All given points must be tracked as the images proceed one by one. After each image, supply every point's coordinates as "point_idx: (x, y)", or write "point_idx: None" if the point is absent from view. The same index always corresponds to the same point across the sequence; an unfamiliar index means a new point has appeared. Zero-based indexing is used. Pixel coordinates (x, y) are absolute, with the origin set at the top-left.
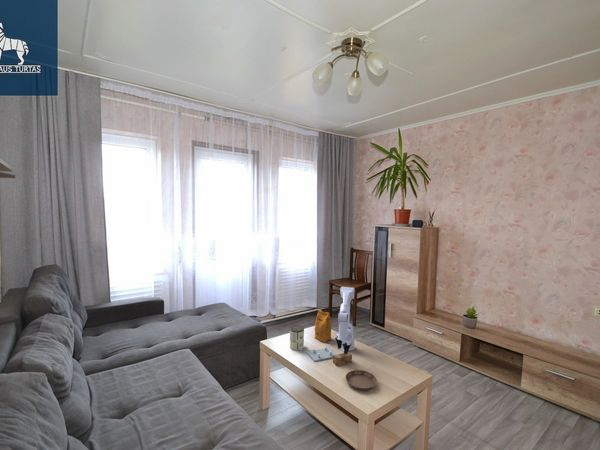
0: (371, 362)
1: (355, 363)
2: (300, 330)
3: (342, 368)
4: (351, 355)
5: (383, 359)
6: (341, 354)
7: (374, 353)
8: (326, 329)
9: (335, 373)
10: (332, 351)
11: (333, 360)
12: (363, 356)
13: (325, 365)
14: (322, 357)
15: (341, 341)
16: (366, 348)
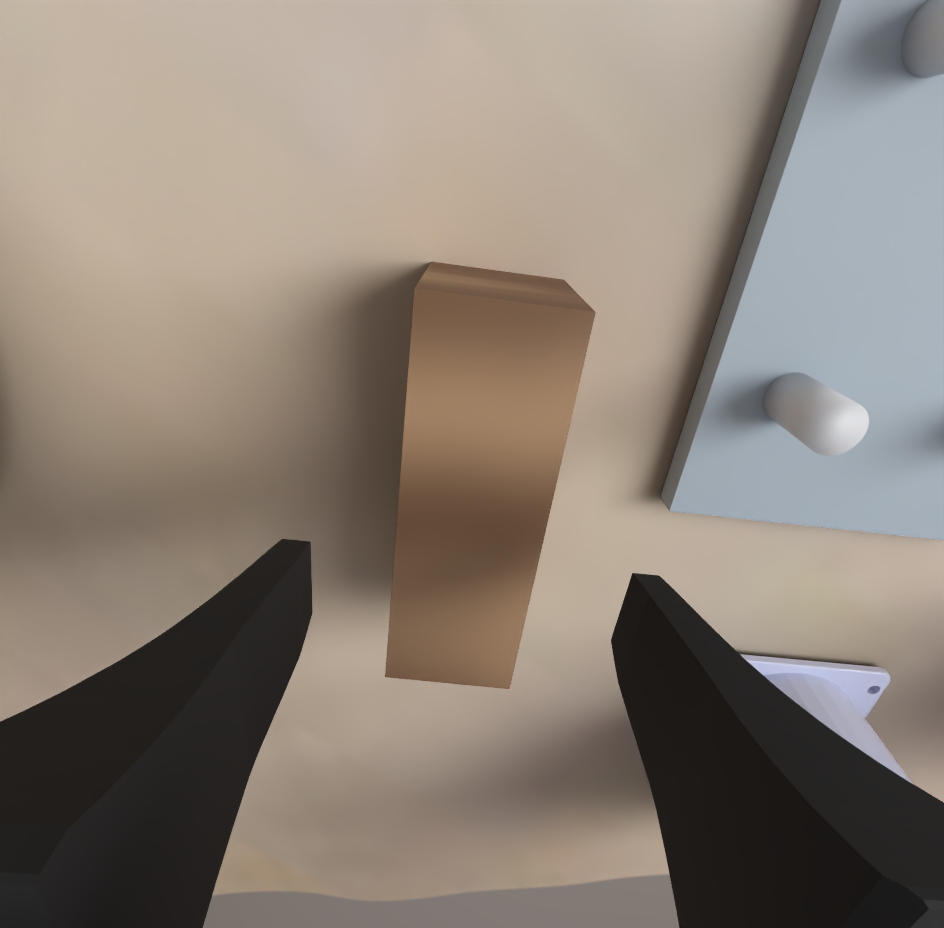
0: (284, 757)
1: (345, 598)
2: None
3: (288, 319)
4: (386, 660)
5: (293, 866)
6: (511, 526)
7: (444, 872)
8: None
9: (152, 25)
10: (848, 506)
11: (547, 286)
12: (452, 766)
13: (560, 12)
14: (853, 141)
15: (685, 870)
16: (582, 874)
